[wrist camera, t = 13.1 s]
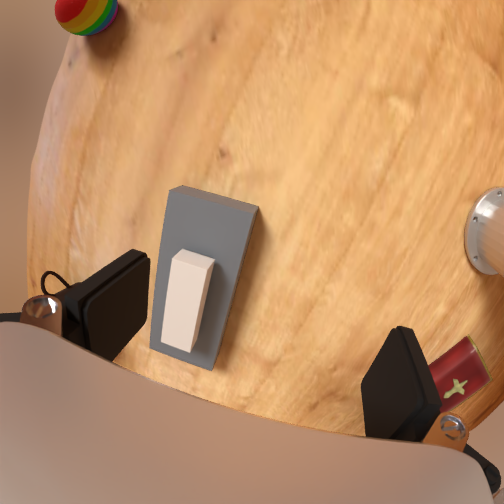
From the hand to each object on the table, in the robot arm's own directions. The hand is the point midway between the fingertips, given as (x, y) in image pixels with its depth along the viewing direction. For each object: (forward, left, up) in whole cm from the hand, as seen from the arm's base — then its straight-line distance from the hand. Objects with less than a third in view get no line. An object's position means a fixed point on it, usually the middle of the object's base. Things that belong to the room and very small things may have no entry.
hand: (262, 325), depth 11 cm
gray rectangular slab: (+8, +14, -26) cm, 31 cm away
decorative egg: (+33, -21, -27) cm, 47 cm away
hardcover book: (-34, +23, -27) cm, 49 cm away
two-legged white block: (+8, +14, -27) cm, 31 cm away
